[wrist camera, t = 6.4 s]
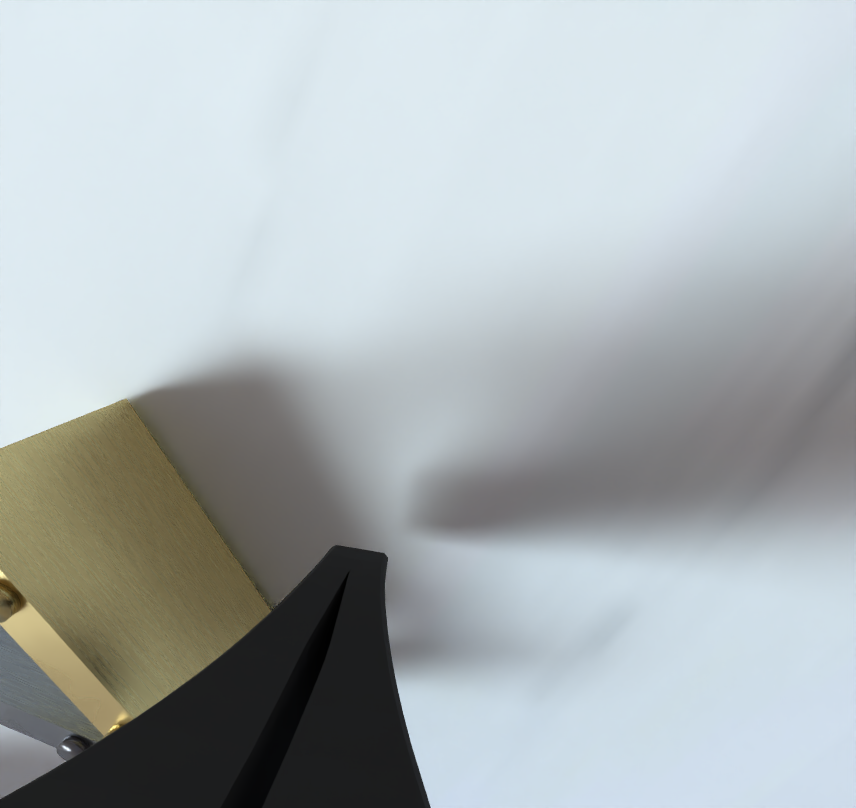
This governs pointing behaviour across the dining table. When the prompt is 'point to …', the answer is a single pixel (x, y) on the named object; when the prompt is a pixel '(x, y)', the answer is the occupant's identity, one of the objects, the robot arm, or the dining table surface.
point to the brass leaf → (113, 567)
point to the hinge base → (40, 704)
